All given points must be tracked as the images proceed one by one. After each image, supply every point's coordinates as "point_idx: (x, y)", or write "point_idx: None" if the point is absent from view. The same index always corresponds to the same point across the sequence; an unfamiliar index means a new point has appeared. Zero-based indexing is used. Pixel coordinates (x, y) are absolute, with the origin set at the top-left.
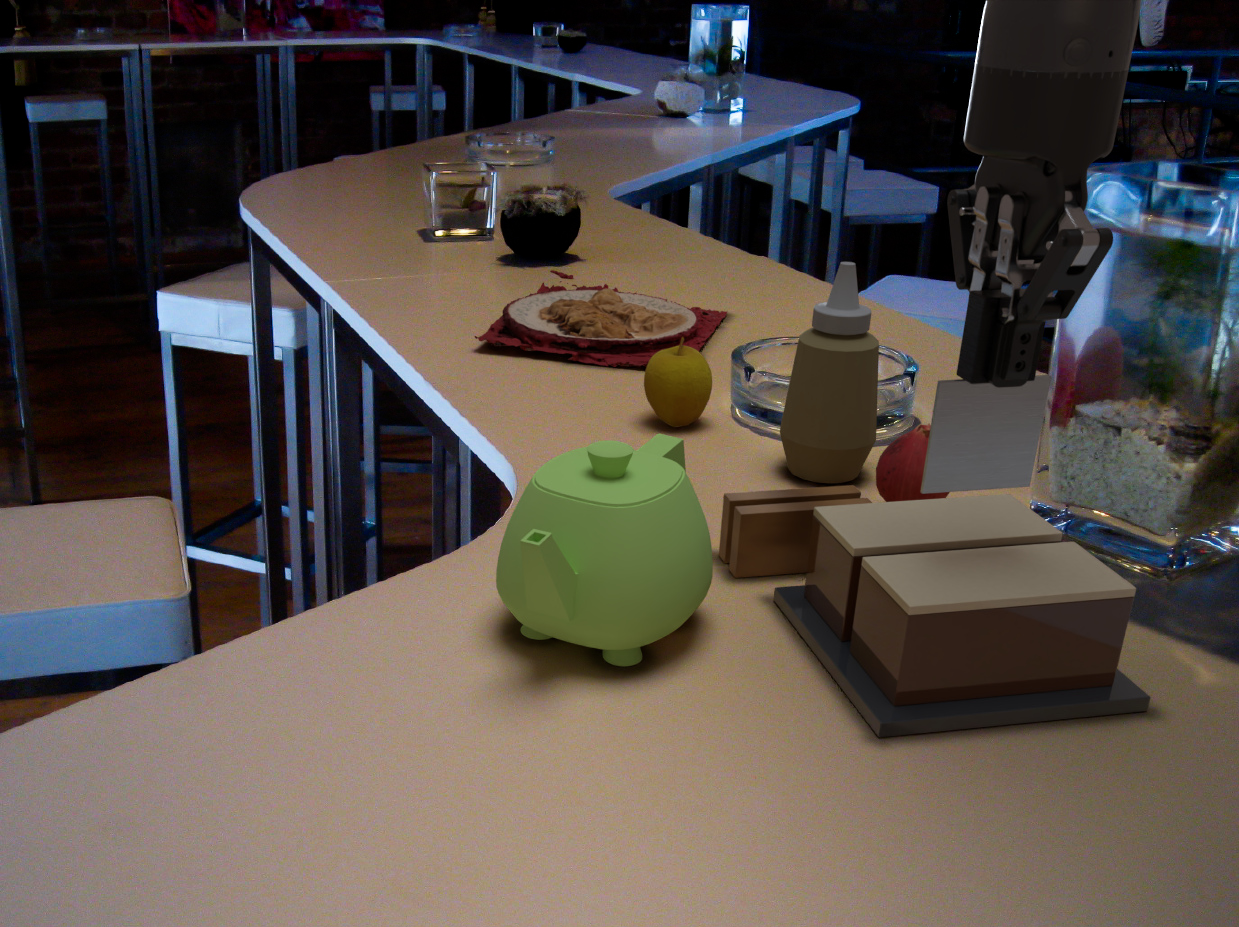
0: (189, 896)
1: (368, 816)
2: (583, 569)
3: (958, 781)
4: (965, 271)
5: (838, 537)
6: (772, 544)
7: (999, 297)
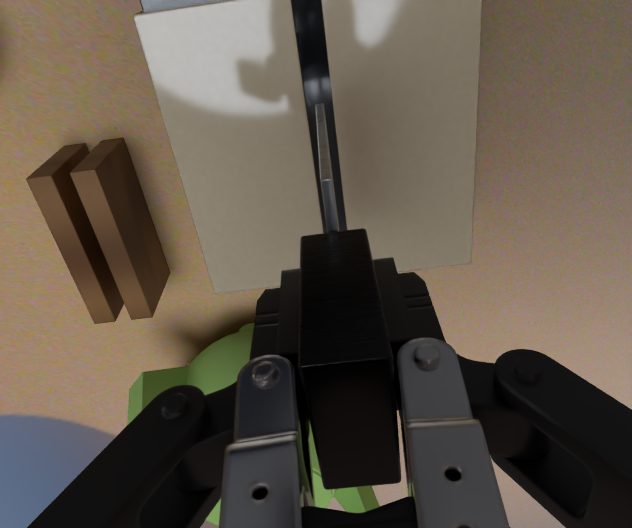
0: (519, 522)
1: None
2: None
3: (534, 174)
4: (218, 501)
5: None
6: (150, 261)
7: (394, 458)
